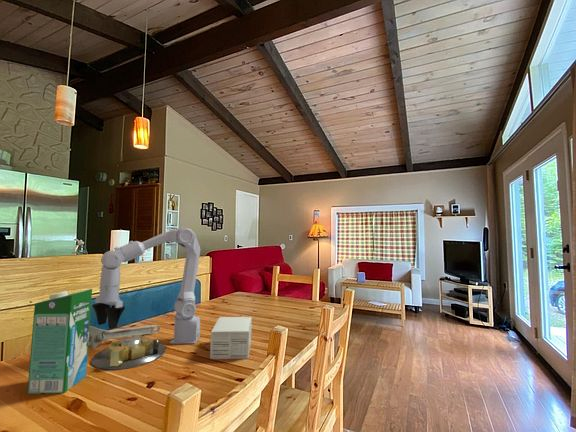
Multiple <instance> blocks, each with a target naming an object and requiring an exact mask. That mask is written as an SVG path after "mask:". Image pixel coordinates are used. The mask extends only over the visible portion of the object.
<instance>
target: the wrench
mask: <svg viewBox="0 0 576 432" xmlns="http://www.w3.org/2000/svg"><path fill="white" fill-rule="evenodd" d="M155 328H157V329H156V330H155ZM160 331H161V326H159V325H157V324H152V325H144V326H136V327H130V328H129V327H128V328H120V329H113V330H112V329H110V330H106V329H101V328H98V327H96V326H92V325H90V328H89V342H88V349H89V348H92V350H95V349H97V348H99V345H100V344H102V343H103V342H106V341H108V340H112V339H113V340H114V339H118V338H128V337H134V336H135V335H142V336H143V335H144V336H145V335H151V334H153V335H154V334H157V333H159V332H160Z"/></svg>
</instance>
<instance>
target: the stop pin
mask: <svg viewBox="0 0 576 432" xmlns="http://www.w3.org/2000/svg"><path fill="white" fill-rule="evenodd" d="M159 341H160V339H158V338H156V339H153V354H158V343H160V342H159Z"/></svg>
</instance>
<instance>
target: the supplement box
mask: <svg viewBox="0 0 576 432" xmlns="http://www.w3.org/2000/svg"><path fill="white" fill-rule="evenodd" d="M252 318H253V317H251V316H220V317H218V318H217V320H216V322H215V324H214V325H213V327H212V329H211V331H210V344H209V345H210V348H209V349H210V352H209V356H210V357H209V359H210V360H221V359H222V360H227V359H229V360H233V359H235V360H237V359H240V360H241V359H247V360H248V359H249V357H250V349H251V343H252V328H253V327H252V324H253V323H252V322H253V321H252Z"/></svg>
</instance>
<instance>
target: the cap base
mask: <svg viewBox="0 0 576 432" xmlns="http://www.w3.org/2000/svg"><path fill="white" fill-rule="evenodd" d="M124 338H125V339H124ZM124 338H122V339H123V340H121V346H122V345H129V347H134V346H137V345H140V344H141V337H134V336H129V337H124ZM165 352H166V346H165V344H163V343H160V342H159V343H158V354H153V347H152V350H151V351H150V352H149V353H148V354H147V355H145V356H142V357H139V358H136V359H132V360H131V359H129V360H125V361H124V362H122V363H121V364H120V365H119V366H110V358H109V357H108V356H107V353H108V347H107V348H105V349H102V350H100V351H99V352H96V354H95V355H94V356H92V358H91V360H90V361H91V366H93V367H94V368H96V369H99V370H106V371H118V370H126V369H132V368H133V369H134V368H136V367H137V368H138V367H141V366H145V365H146V364H149V363H151V362H154V361H156V360H158V359H160V358H161V357H163V355H164V354H165Z"/></svg>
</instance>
